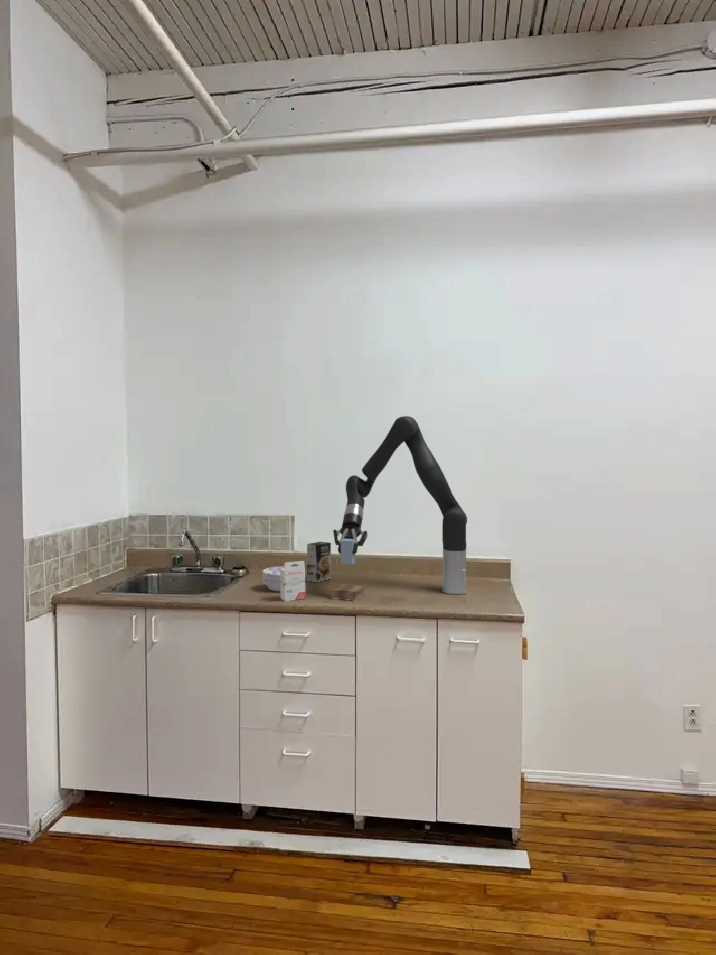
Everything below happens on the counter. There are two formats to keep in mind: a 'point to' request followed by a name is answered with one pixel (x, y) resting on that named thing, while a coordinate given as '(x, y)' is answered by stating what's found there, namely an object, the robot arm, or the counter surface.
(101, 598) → the counter surface
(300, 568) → the ink cartridge box
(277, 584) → the paper bowls
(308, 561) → the coffee box
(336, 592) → the walnut block
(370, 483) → the robot arm
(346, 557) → the slate block
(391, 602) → the counter surface
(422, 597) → the counter surface
